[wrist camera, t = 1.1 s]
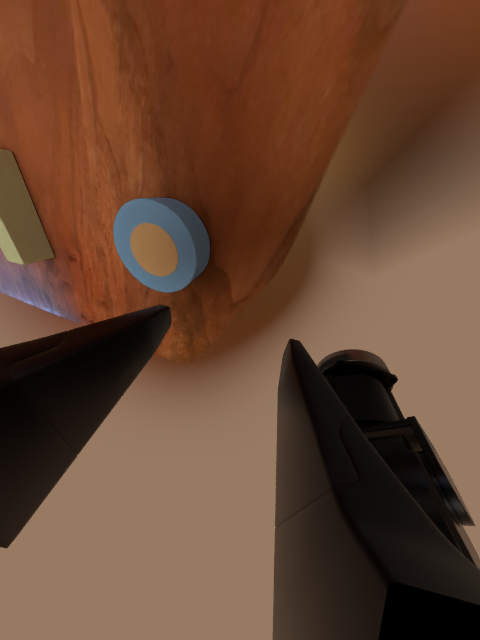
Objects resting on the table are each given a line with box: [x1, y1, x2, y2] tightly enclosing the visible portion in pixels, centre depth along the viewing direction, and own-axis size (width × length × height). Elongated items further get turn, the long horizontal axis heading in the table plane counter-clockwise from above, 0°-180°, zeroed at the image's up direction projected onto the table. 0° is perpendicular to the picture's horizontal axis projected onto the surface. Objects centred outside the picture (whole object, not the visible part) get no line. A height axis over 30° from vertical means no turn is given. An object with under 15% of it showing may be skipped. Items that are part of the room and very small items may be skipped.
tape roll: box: [113, 198, 210, 292], centre depth 16 cm, size 7×7×3 cm
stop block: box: [0, 149, 55, 265], centre depth 18 cm, size 2×9×3 cm, turn 171°
